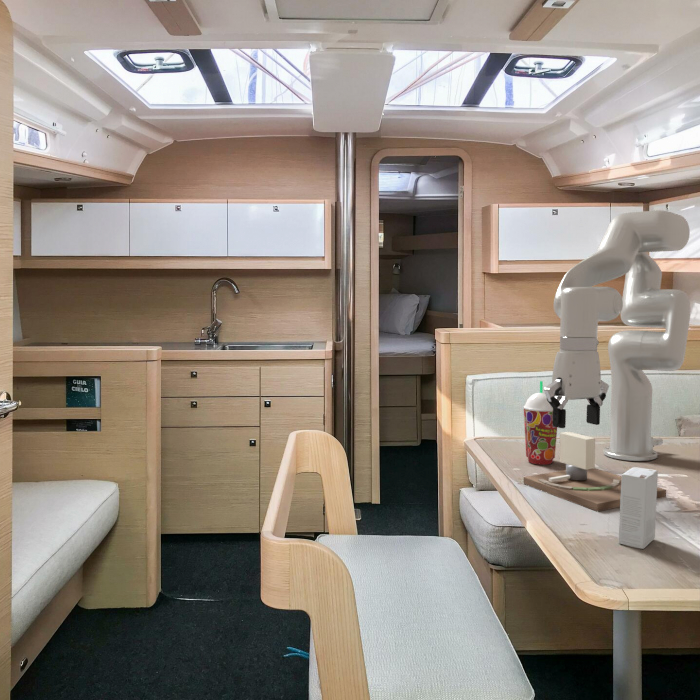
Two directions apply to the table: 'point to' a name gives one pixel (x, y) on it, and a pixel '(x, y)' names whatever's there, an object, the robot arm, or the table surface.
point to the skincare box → (638, 507)
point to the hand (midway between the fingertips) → (576, 425)
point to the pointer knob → (576, 456)
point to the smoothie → (539, 429)
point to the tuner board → (585, 488)
